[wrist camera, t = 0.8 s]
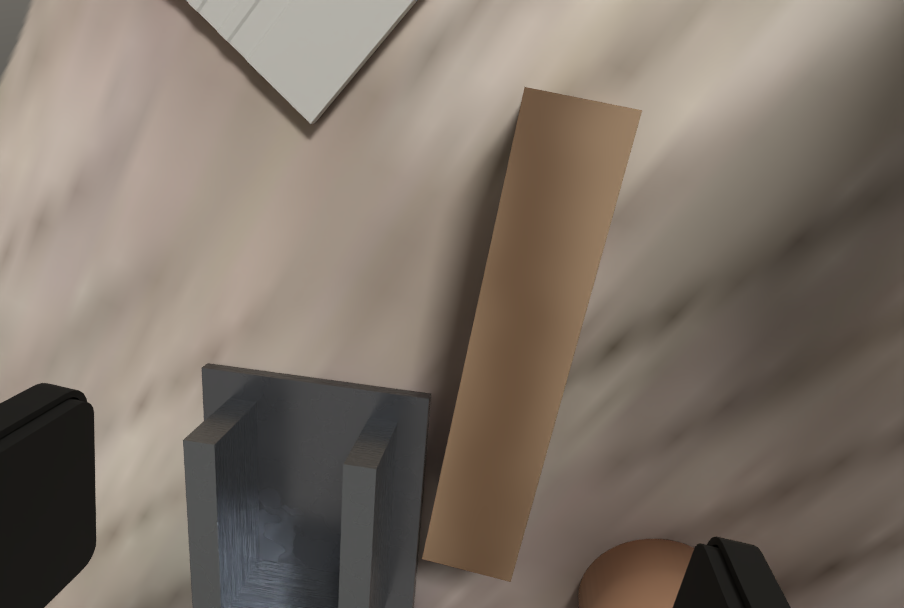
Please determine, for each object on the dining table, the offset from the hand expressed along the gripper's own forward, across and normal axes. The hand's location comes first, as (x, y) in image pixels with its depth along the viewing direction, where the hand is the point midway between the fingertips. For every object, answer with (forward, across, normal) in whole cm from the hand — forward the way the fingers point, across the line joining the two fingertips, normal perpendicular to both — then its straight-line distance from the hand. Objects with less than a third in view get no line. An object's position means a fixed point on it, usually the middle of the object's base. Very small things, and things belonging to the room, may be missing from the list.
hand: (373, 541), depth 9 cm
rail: (+20, -2, +3) cm, 20 cm away
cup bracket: (+20, +7, +14) cm, 26 cm away
